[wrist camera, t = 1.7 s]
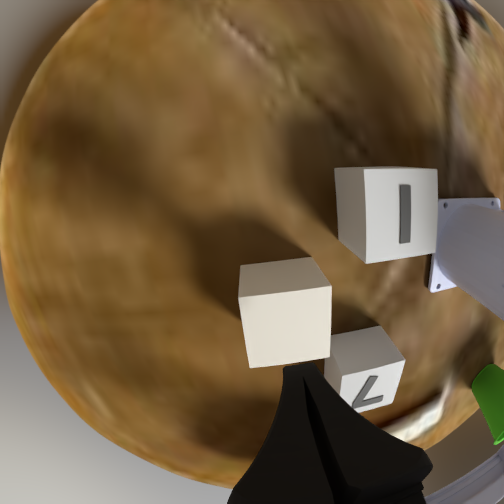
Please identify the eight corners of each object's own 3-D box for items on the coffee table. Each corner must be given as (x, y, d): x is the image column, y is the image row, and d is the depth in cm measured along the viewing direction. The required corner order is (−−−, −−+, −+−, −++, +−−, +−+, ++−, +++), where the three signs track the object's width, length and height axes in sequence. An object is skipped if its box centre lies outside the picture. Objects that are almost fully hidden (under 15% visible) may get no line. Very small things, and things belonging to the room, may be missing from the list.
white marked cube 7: (380, 325, 21) (405, 360, 16) (372, 367, 22) (392, 403, 17) (325, 335, 21) (342, 376, 16) (323, 377, 22) (336, 418, 18)
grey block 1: (396, 166, 17) (438, 169, 12) (397, 232, 18) (436, 253, 14) (333, 167, 17) (364, 169, 12) (337, 239, 18) (366, 264, 14)
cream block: (311, 256, 19) (331, 285, 14) (313, 317, 20) (329, 357, 16) (240, 264, 19) (238, 297, 14) (249, 325, 20) (249, 368, 16)
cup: (498, 374, 25) (531, 413, 15) (459, 407, 27) (488, 453, 16) (505, 340, 23) (547, 381, 13) (462, 378, 24) (501, 430, 14)
